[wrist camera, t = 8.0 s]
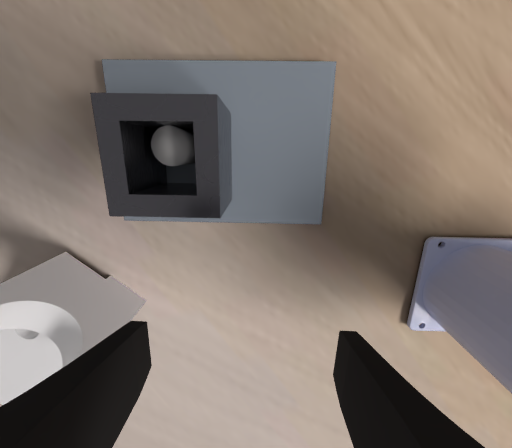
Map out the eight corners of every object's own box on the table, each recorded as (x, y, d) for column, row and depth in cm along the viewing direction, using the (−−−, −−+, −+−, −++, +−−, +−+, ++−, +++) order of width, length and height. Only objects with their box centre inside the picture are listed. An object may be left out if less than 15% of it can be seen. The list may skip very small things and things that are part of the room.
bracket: (74, 247, 19) (-38, 302, 12) (148, 298, 21) (86, 377, 13) (6, 346, 22) (-118, 439, 15) (74, 387, 23) (-11, 491, 16)
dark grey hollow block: (231, 113, 15) (217, 94, 10) (232, 199, 17) (220, 218, 12) (143, 112, 15) (90, 92, 10) (153, 198, 17) (109, 215, 12)
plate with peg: (331, 67, 15) (359, 33, 11) (318, 220, 18) (335, 241, 14) (111, 65, 15) (53, 30, 11) (131, 216, 18) (91, 236, 14)
